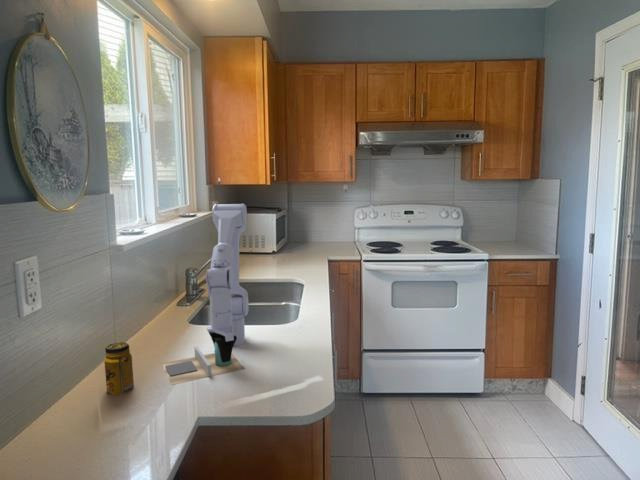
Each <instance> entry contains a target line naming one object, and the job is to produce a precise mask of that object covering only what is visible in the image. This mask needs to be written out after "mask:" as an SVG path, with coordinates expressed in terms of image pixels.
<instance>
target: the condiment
mask: <svg viewBox="0 0 640 480" xmlns="http://www.w3.org/2000/svg"><path fill="white" fill-rule="evenodd" d="M104 351H105V358H104V371H105V385H106V392H107V394H108V395H114V396H115V395H117V396H118V395H123V394H126V393H128V392H131V391H132V390H134V387H135V385H134V384H135V383H134V370H133V356H132V354H131V353H130V351H131V350H130V345H129V343H127V342H123V341H121V342H114V343H111V344H110V343H109V344H108V345H107V346H106V347H105V350H104Z"/></svg>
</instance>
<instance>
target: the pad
mask: <svg viewBox="0 0 640 480" xmlns="http://www.w3.org/2000/svg"><path fill="white" fill-rule="evenodd" d="M165 367H166V369H167V371H168V373H169V376H170V377H171V376H176V375H180V374H185V373H190V372H195V371H197V368H196V367H195V365H194V364H193V362H192V361H188V362H182V363H177V364H172V365H167V366H165Z"/></svg>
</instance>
